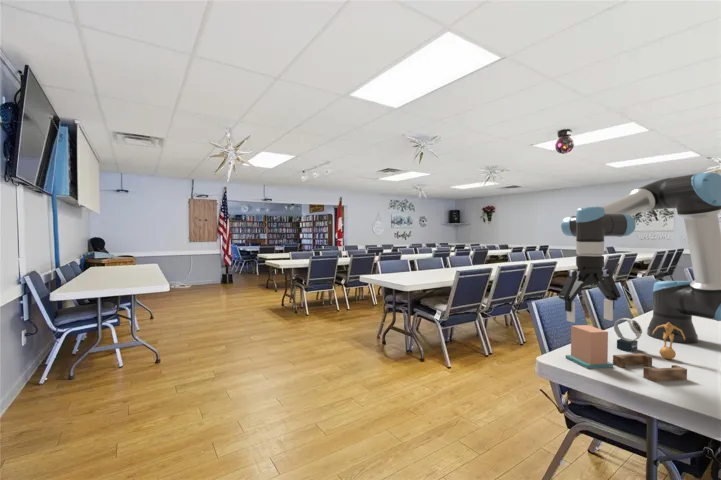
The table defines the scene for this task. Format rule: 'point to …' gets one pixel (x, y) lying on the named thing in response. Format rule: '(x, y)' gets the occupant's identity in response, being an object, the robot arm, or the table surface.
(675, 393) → the table surface
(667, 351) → the figurine
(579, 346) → the terracotta block
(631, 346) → the watch
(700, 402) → the table surface
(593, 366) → the teal pad
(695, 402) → the table surface
